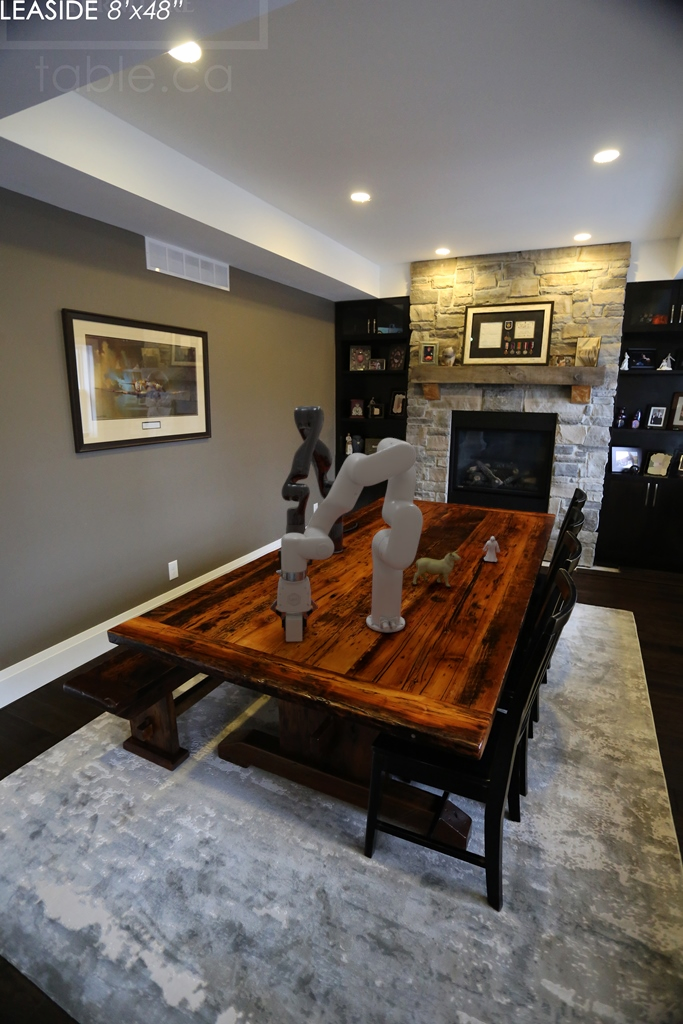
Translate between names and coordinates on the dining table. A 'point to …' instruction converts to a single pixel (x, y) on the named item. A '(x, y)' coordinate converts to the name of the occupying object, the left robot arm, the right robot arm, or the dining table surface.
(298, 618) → the bar
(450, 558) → the toy
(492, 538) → the figurine
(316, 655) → the dining table surface
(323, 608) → the dining table surface
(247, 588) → the dining table surface
